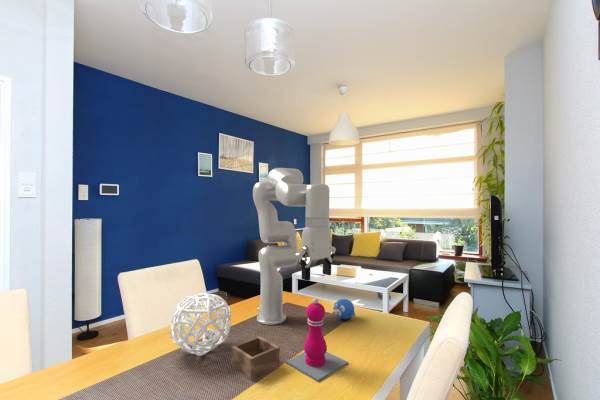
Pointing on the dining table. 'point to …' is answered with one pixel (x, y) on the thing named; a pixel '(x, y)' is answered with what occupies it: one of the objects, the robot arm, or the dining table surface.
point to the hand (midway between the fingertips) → (316, 277)
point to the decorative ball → (192, 323)
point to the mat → (320, 372)
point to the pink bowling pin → (315, 335)
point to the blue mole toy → (344, 309)
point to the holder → (255, 357)
